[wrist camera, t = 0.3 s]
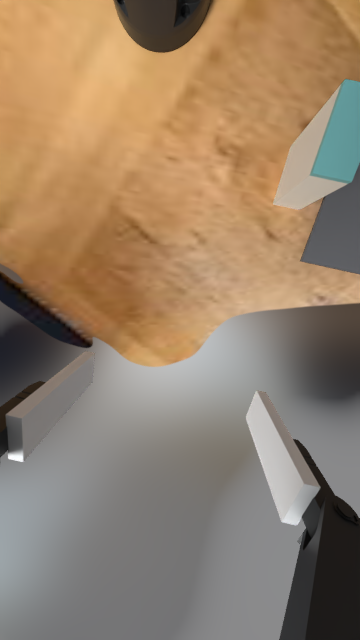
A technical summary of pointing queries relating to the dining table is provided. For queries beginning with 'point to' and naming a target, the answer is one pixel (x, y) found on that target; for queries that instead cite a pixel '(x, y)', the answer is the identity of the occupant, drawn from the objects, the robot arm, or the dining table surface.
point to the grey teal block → (324, 151)
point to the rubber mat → (337, 230)
